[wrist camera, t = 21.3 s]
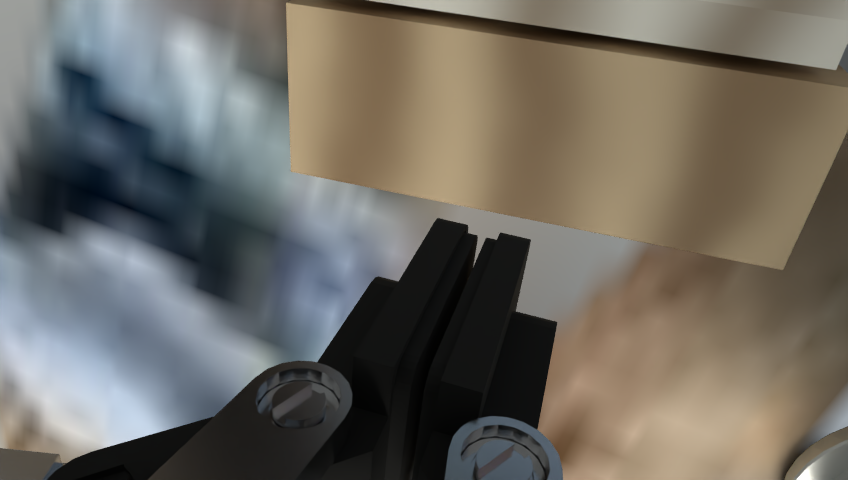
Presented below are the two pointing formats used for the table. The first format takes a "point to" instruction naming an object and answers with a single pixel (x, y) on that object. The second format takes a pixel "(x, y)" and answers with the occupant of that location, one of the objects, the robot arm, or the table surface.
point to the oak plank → (564, 125)
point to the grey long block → (685, 23)
